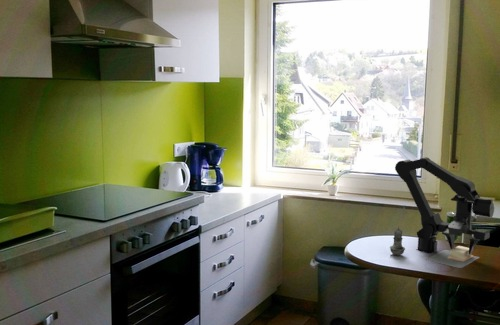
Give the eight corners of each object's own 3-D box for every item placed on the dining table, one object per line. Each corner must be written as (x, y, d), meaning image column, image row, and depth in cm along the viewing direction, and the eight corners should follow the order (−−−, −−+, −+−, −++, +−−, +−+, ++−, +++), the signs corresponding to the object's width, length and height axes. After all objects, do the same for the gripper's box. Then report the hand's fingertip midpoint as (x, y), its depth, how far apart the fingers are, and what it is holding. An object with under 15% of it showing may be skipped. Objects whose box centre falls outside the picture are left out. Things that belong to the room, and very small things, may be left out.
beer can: (450, 241, 226) (451, 214, 225) (442, 238, 231) (444, 211, 230) (460, 241, 228) (462, 214, 226) (452, 237, 233) (454, 211, 231)
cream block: (458, 253, 208) (458, 245, 208) (471, 255, 205) (471, 248, 204) (449, 257, 203) (450, 250, 202) (462, 260, 199) (463, 252, 199)
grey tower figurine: (391, 253, 209) (392, 224, 208) (406, 255, 206) (408, 226, 205) (387, 257, 204) (388, 227, 203) (402, 260, 201) (404, 229, 200)
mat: (424, 260, 200) (424, 259, 200) (444, 250, 213) (444, 249, 213) (460, 269, 191) (460, 268, 191) (479, 258, 204) (479, 257, 204)
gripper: (431, 212, 202) (428, 251, 204) (480, 221, 189) (477, 262, 191) (443, 207, 210) (441, 245, 212) (491, 216, 197) (488, 256, 199)
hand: (460, 252), depth 204 cm, fingers open, 7 cm apart
